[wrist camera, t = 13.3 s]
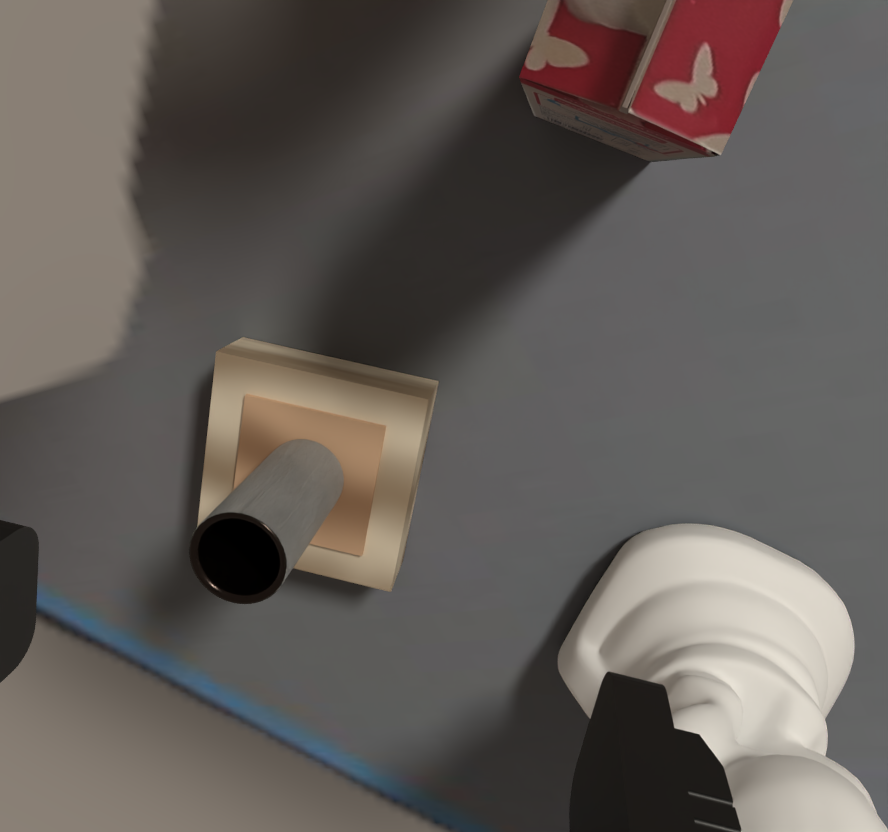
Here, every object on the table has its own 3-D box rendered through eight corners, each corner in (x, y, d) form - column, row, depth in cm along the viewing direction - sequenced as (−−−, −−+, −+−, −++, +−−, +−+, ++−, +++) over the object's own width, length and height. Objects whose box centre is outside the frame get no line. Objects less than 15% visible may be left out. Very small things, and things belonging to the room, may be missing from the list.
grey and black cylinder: (282, 520, 46) (209, 613, 37) (255, 448, 45) (173, 524, 36) (355, 503, 45) (300, 594, 36) (329, 429, 44) (266, 502, 35)
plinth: (242, 337, 48) (214, 352, 44) (438, 381, 47) (427, 401, 43) (221, 516, 52) (193, 546, 48) (402, 560, 51) (389, 594, 47)
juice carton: (533, 115, 42) (513, 63, 22) (585, -18, 40) (618, -220, 19) (651, 162, 42) (744, 155, 21) (708, 31, 40) (875, -119, 19)
